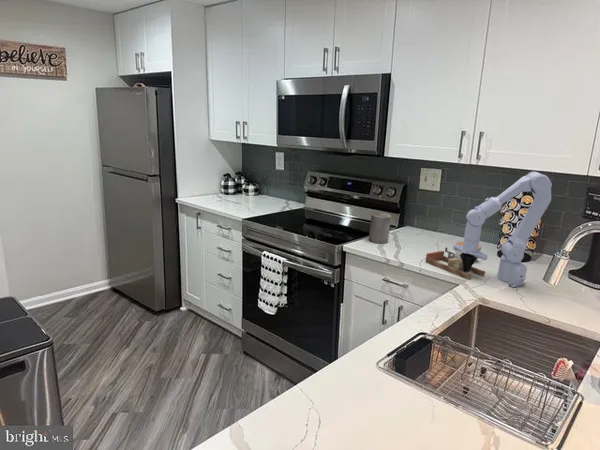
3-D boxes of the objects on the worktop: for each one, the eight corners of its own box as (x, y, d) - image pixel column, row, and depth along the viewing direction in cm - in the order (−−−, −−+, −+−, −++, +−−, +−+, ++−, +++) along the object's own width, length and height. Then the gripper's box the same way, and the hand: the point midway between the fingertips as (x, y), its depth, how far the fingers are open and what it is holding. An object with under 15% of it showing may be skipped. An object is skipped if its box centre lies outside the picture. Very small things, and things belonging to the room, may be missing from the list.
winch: (455, 263, 191) (457, 250, 189) (451, 264, 189) (453, 251, 187) (446, 259, 195) (447, 247, 193) (441, 260, 193) (443, 247, 192)
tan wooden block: (465, 270, 178) (466, 261, 177) (457, 272, 176) (458, 263, 175) (454, 266, 183) (456, 257, 182) (446, 268, 180) (448, 259, 179)
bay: (484, 278, 174) (486, 266, 173) (468, 282, 169) (470, 270, 167) (440, 261, 192) (442, 250, 190) (425, 264, 186) (426, 253, 185)
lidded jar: (451, 262, 191) (454, 242, 189) (455, 255, 201) (458, 236, 198) (477, 267, 187) (480, 246, 184) (479, 260, 196) (483, 240, 193)
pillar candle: (367, 237, 222) (370, 209, 218) (386, 238, 222) (389, 210, 218) (369, 243, 213) (372, 214, 209) (389, 244, 213) (392, 215, 209)
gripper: (450, 235, 175) (445, 267, 179) (481, 245, 163) (475, 279, 167) (461, 233, 179) (456, 264, 182) (492, 243, 167) (486, 276, 171)
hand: (466, 271), depth 175 cm, fingers closed
